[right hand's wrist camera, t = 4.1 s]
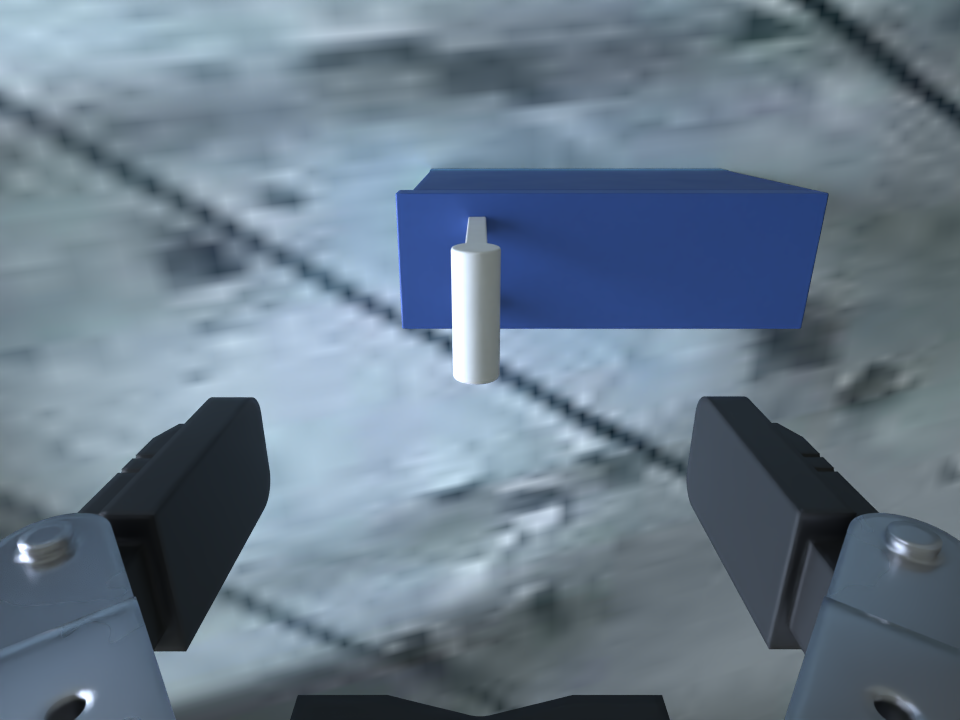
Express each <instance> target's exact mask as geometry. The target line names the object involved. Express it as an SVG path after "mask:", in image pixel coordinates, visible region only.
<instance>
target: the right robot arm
mask: <svg viewBox="0 0 960 720" xmlns="http://www.w3.org/2000/svg"><path fill="white" fill-rule="evenodd" d="M269 491H270V470H269V463H268V456H267V450H266V443H265V436H264V430H263V423H262V416H261V410H260V406H259V404H258V402H257V400H256V399H255V398H253V397H212V398H209V399H208V400H207V401H206V402H205V403H204V404H203V405H202V406H201V407H200V408H199V409H198V410H197V411H196V412H195V413H194V414H193V416H192V417H191V418H190V419H189V420H188V421H187V422H186V423H185V424H178V425H176V426H175V427H173V428H171V429H169V430H167V431H166V432H164V433H162V434H160V435H158V436H156V437H155V438H153V439H152V440H151V441H150V442H149V443H148V444H147V445H146V446H145V447H144V448H143V449H142V450H141V451H140V452H139V453H138V454H137V455H136V459H132V460H131V461H130V462H129V463H128V464H127V465H125V466H124V467H123V468H122V472H121V473H117V474H116V475H115V476H114V477H113V478H112V479H111V480H110V481H109V482H108V483H107V484H106V485H105V486H104V487H103V488H102V489H101V490H100V491H99V492H98V493H97V494H96V495H95V496H94V497H93V498H92V499H91V500H90V501H89V502H88V503H87V504H86V505H85V506H84V507H83V508H82V509H81V510H80V511H79V512H78V513H72V514H64V515H59V516H54V517H51V518H47V519H44V520H41V521H38V522H35V523H33V524H30V525H28V526H25V527H23V528H21V529H19V530H17V531H15V532H13V533H12V534H10V535H9V536H7V537H5V538H4V539H2V540H1V541H0V720H176V719H175V716H174V713H173V710H172V707H171V704H170V700H169V697H168V694H167V691H166V688H165V685H164V682H163V679H162V676H161V673H160V669H159V666H158V663H157V660H156V657H155V654H154V651H187V649H188V647H189V645H190V643H191V642H192V640H193V638H194V636H195V634H196V632H197V631H198V629H199V627H200V625H201V623H202V621H203V620H204V618H205V616H206V614H207V612H208V611H209V609H210V607H211V605H212V603H213V601H214V600H215V598H216V596H217V594H218V592H219V591H220V589H221V587H222V585H223V583H224V581H225V580H226V578H227V576H228V574H229V572H230V570H231V569H232V567H233V565H234V563H235V561H236V560H237V558H238V556H239V554H240V552H241V550H242V549H243V547H244V545H245V543H246V541H247V539H248V538H249V536H250V534H251V532H252V530H253V529H254V527H255V525H256V523H257V521H258V519H259V518H260V516H261V514H262V512H263V510H264V508H265V506H266V504H267V501H268V497H269ZM687 491H688V496H689V500H690V503H691V506H692V508H693V510H694V511H695V513H696V515H697V517H698V519H699V521H700V523H701V524H702V526H703V528H704V530H705V532H706V534H707V535H708V537H709V539H710V541H711V543H712V545H713V547H714V548H715V550H716V552H717V554H718V556H719V558H720V559H721V561H722V563H723V565H724V567H725V569H726V571H727V572H728V574H729V576H730V578H731V580H732V582H733V583H734V585H735V587H736V589H737V591H738V593H739V594H740V596H741V598H742V600H743V602H744V604H745V606H746V607H747V609H748V611H749V613H750V615H751V617H752V618H753V620H754V622H755V624H756V626H757V628H758V630H759V631H760V633H761V635H762V637H763V639H764V641H765V642H766V644H767V646H768V648H769V649H802V650H803V652H804V654H805V657H804V660H803V663H802V666H801V669H800V673H799V676H798V679H797V682H796V685H795V688H794V691H793V694H792V697H791V700H790V704H789V707H788V710H787V713H786V716H785V719H784V720H960V541H959V540H958V539H956V538H955V537H953V536H951V535H950V534H948V533H947V532H945V531H943V530H941V529H939V528H937V527H935V526H932V525H930V524H927V523H925V522H922V521H919V520H916V519H913V518H909V517H906V516H901V515H896V514H888V513H879V512H878V511H877V510H876V509H875V508H874V507H873V506H871V505H870V504H869V503H868V502H867V501H866V500H865V499H864V498H863V497H862V496H861V495H860V494H859V493H858V492H857V491H856V490H855V489H854V488H853V487H852V486H851V485H850V484H849V483H848V482H847V481H846V480H845V479H844V478H843V477H842V476H841V475H840V474H839V473H838V472H834V468H833V467H832V466H831V465H830V464H829V463H828V462H827V461H826V460H825V459H824V458H823V457H820V454H819V453H818V452H817V451H816V450H815V449H814V448H813V447H812V446H811V445H810V444H809V443H808V442H807V441H806V440H805V439H804V438H803V437H802V436H800V435H798V434H796V433H794V432H792V431H791V430H789V429H787V428H785V427H783V426H782V425H780V424H778V423H771V422H770V421H769V420H768V419H767V418H766V417H765V416H764V414H763V413H762V412H761V411H760V410H759V409H758V408H757V407H756V406H755V405H754V404H753V403H752V402H751V401H750V400H749V399H748V398H747V397H702V398H701V399H700V400H699V402H698V404H697V408H696V413H695V420H694V427H693V434H692V441H691V447H690V454H689V461H688V468H687ZM290 720H670V719H669V716H668V713H667V709H666V706H665V703H664V700H663V697H662V695H571V696H567V697H563V698H559V699H555V700H551V701H547V702H543V703H539V704H535V705H530V706H526V707H522V708H518V709H514V710H510V711H506V712H502V713H498V714H494V715H490V716H470V715H466V714H462V713H458V712H454V711H450V710H446V709H442V708H438V707H434V706H430V705H425V704H421V703H417V702H413V701H409V700H405V699H401V698H397V697H393V696H389V695H298V697H297V700H296V703H295V706H294V709H293V713H292V716H291V719H290Z"/></svg>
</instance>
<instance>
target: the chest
mask: <svg viewBox="0 0 960 720" xmlns="http://www.w3.org/2000/svg"><path fill="white" fill-rule="evenodd" d="M414 190H811V189H807V188H802V187H798V186H793V185H789V184H784V183H780V182H776V181H771V180H767V179H762V178H758V177H753V176H749V175H744V174H740V173H735V172H731V171H728V170H724V169H431V170H430V172H429V173H428V174H427V175H426V177H425V178H424V179H423V180H422V181H421V182H420V183H419V184H418V185H417V186H416V188H415V189H414Z"/></svg>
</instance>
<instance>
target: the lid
mask: <svg viewBox="0 0 960 720" xmlns="http://www.w3.org/2000/svg"><path fill="white" fill-rule="evenodd" d="M828 195H829V194H828V193H825V192H821V191H816V190H399V191H398V192H397V193H396V213H397V233H398V253H399V273H400V293H401V312H402V328H404V329H452V334H453V375H454V378H455V379H456V380H458V381H460V382H462V383H466V384H486V383H490V382H493V381H495V380H496V379H497V378H498V377H499V362H500V329H800V328H801V326H802V321H803V316H804V311H805V306H806V302H807V297H808V292H809V287H810V282H811V277H812V273H813V268H814V263H815V258H816V253H817V248H818V243H819V239H820V234H821V229H822V224H823V219H824V214H825V210H826V205H827V200H828Z"/></svg>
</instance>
